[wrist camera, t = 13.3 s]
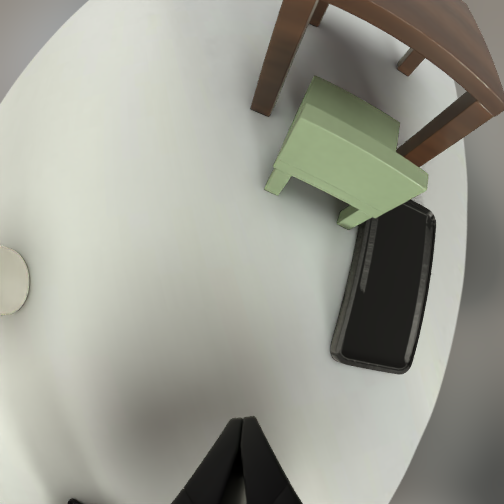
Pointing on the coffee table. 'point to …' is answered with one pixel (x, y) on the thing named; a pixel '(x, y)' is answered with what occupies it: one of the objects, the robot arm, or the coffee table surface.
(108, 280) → the coffee table surface
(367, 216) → the chair
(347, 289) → the phone
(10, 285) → the drinking glass
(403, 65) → the walnut table
